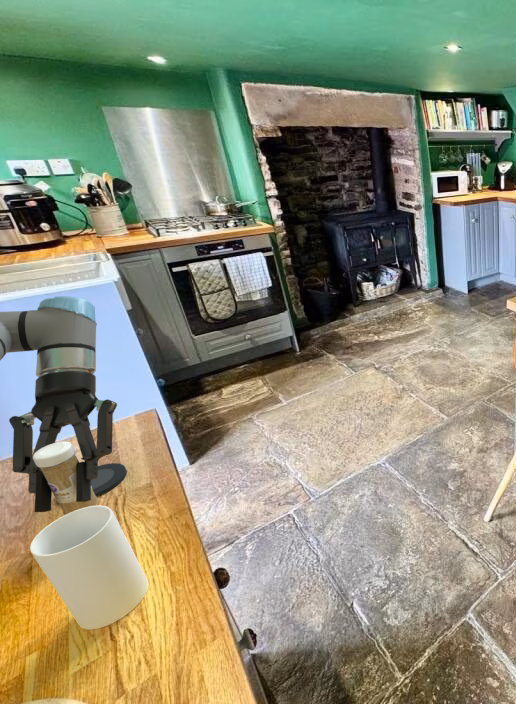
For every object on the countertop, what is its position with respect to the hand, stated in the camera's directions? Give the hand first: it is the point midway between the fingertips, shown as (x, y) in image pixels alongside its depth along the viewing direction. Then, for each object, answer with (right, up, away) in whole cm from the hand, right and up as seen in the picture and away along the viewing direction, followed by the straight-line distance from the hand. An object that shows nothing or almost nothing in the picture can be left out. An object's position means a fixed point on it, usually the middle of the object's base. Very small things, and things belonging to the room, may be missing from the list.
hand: (63, 505), depth 68 cm
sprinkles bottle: (-2, -3, +5) cm, 6 cm away
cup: (+14, -13, -5) cm, 19 cm away
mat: (-11, -3, +16) cm, 19 cm away
